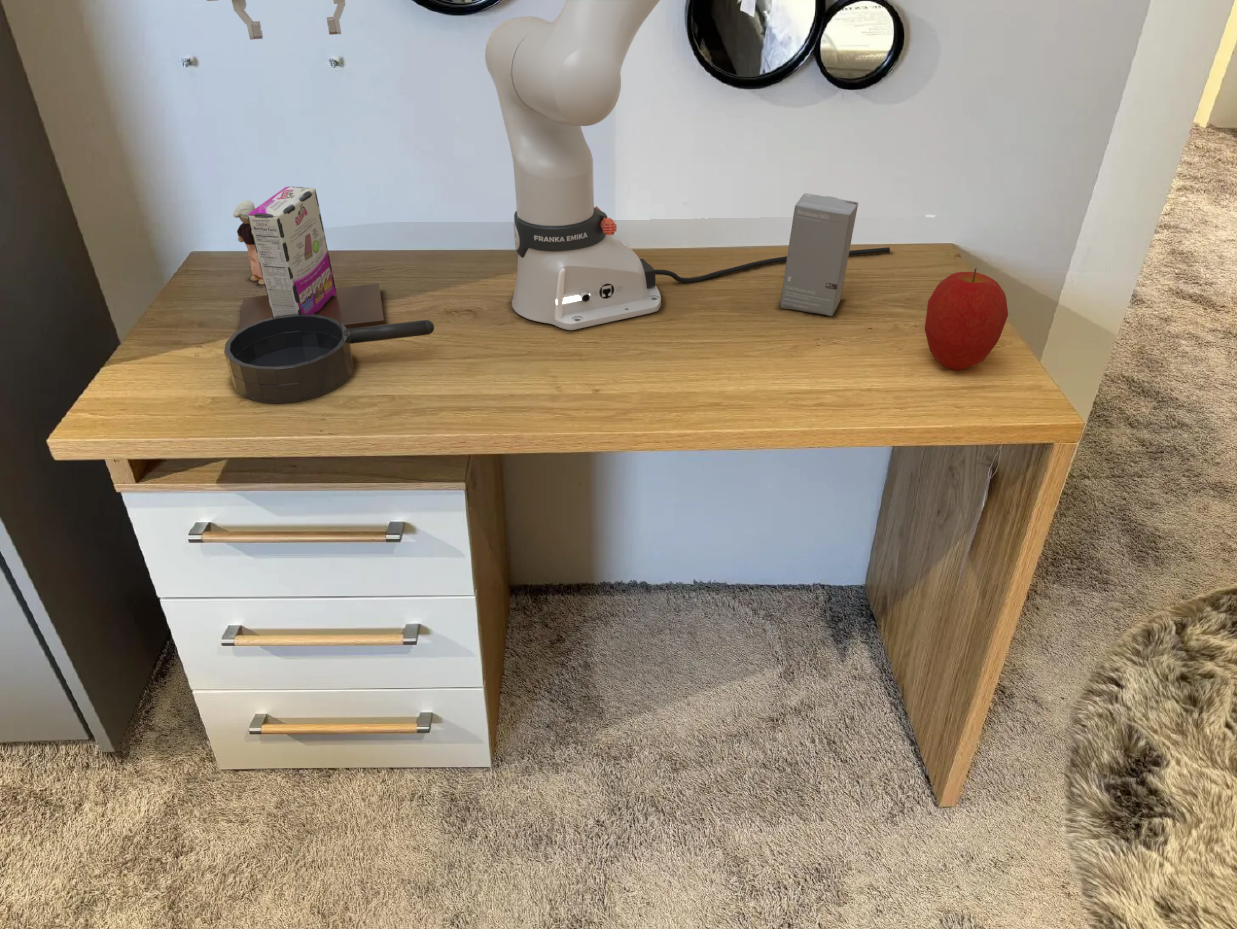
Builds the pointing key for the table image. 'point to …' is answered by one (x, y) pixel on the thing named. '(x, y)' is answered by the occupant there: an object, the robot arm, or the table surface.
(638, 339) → the table surface
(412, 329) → the pan handle
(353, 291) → the cutting board
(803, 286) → the cosmetic box
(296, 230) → the candy bar box
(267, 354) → the pan
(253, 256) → the grandmother figurine
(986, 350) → the apple
